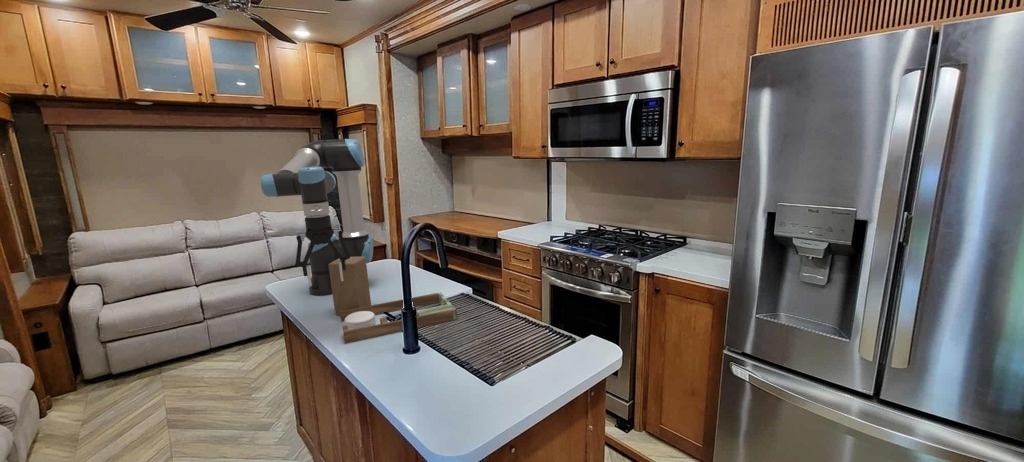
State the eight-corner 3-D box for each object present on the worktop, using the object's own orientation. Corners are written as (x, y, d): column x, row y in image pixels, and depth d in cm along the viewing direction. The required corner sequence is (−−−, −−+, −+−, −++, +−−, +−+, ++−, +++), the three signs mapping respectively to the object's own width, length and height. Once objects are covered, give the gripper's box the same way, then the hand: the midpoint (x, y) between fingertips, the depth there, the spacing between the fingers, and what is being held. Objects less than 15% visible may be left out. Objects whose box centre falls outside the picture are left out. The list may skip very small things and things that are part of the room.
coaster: (377, 318, 155) (376, 309, 154) (373, 329, 145) (372, 320, 144) (348, 321, 153) (347, 312, 152) (342, 333, 143) (341, 323, 143)
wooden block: (371, 305, 167) (365, 256, 163) (360, 315, 157) (354, 263, 153) (347, 305, 168) (341, 256, 164) (334, 315, 158) (327, 263, 154)
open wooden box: (341, 320, 153) (339, 311, 153) (441, 300, 168) (440, 292, 168) (344, 343, 135) (343, 332, 134) (457, 319, 150) (456, 309, 149)
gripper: (278, 221, 129) (289, 291, 133) (354, 213, 137) (362, 279, 142) (279, 217, 135) (290, 285, 140) (352, 210, 144) (359, 274, 149)
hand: (326, 282), depth 141 cm, fingers open, 9 cm apart
